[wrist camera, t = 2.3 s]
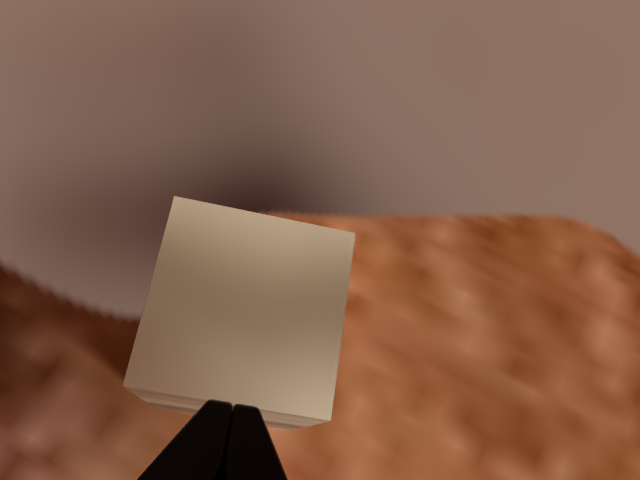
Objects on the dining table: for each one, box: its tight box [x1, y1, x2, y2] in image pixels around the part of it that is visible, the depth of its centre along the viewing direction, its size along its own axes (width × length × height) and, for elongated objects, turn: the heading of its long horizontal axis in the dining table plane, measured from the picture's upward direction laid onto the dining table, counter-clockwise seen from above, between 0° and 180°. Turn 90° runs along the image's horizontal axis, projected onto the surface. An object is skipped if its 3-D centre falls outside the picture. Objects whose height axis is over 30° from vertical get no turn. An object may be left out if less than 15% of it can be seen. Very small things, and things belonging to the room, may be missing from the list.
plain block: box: [123, 196, 355, 431], centre depth 18 cm, size 5×5×8 cm
